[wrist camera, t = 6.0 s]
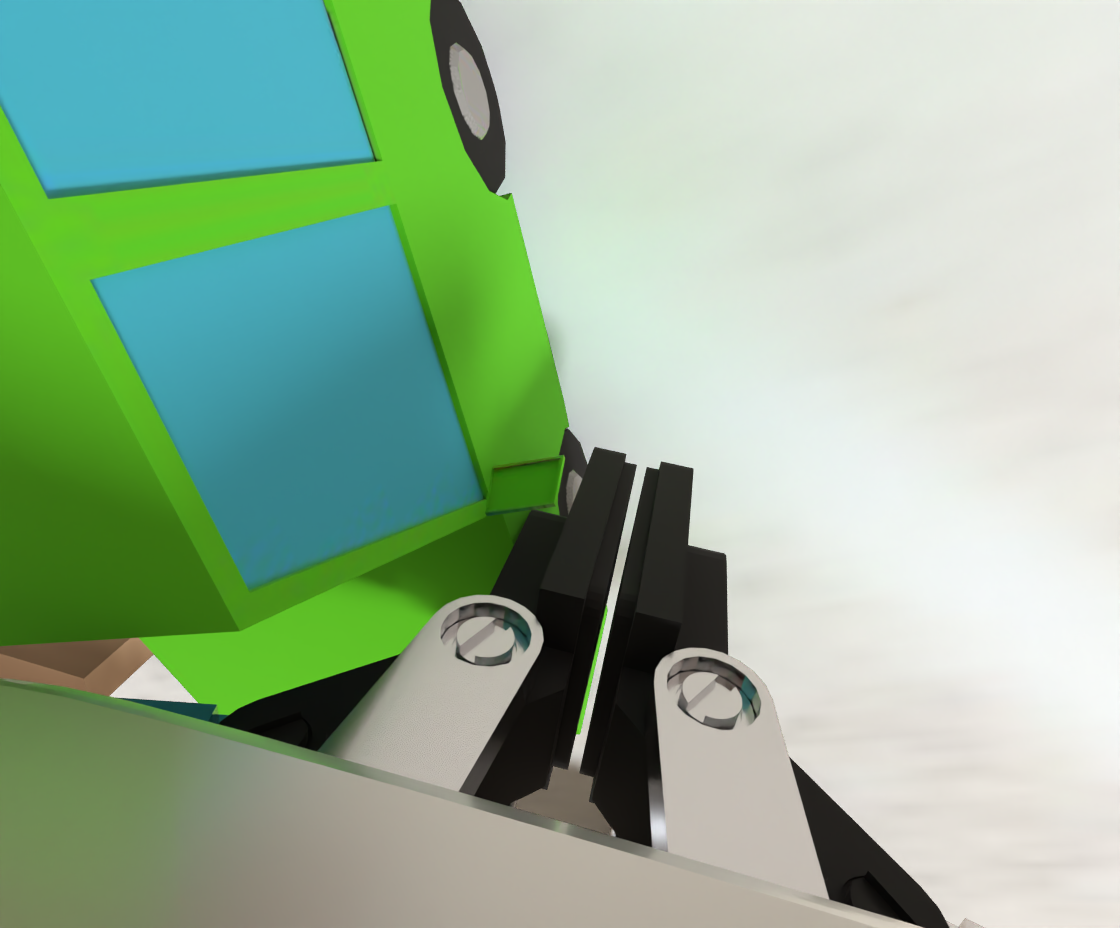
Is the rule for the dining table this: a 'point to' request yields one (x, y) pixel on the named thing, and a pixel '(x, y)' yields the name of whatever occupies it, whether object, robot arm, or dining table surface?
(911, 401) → the dining table surface
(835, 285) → the dining table surface
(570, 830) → the robot arm
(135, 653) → the bay
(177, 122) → the toy car
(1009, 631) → the dining table surface
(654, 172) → the dining table surface
